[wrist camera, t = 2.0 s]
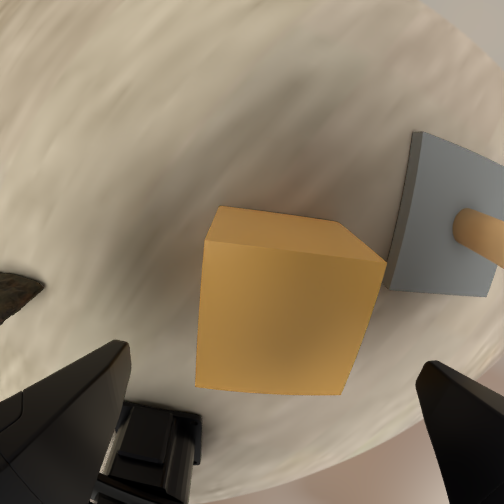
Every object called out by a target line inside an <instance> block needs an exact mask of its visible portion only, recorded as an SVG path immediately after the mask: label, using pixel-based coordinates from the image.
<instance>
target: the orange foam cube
mask: <svg viewBox="0 0 504 504" xmlns="http://www.w3.org/2000/svg"><path fill="white" fill-rule="evenodd" d="M386 265H387V262H386V261H384V260H383V259H382V258H381V257H380V256H379V255H377V254H376V253H375V252H374V251H373V250H372V249H370V248H369V247H368V246H367V245H366V244H364V243H363V242H362V241H361V240H360V239H358V238H357V237H356V236H355V235H354V234H352V233H351V232H350V231H349V230H347V229H346V228H345V227H344V226H342V225H341V224H340V223H339V222H335V221H329V220H322V219H316V218H309V217H302V216H295V215H288V214H281V213H274V212H266V211H259V210H251V209H243V208H235V207H226V206H219V208H218V210H217V212H216V215H215V217H214V219H213V222H212V224H211V226H210V229H209V231H208V233H207V236H206V238H205V241H204V252H203V264H202V276H201V289H200V303H199V319H198V336H197V355H196V378H195V387H199V388H207V389H216V390H225V391H236V392H248V393H262V394H281V395H341V393H342V391H343V388H344V386H345V384H346V381H347V379H348V376H349V374H350V371H351V369H352V367H353V364H354V361H355V359H356V356H357V354H358V351H359V348H360V346H361V343H362V340H363V338H364V335H365V332H366V329H367V326H368V323H369V320H370V317H371V314H372V311H373V308H374V305H375V302H376V299H377V296H378V293H379V289H380V286H381V283H382V279H383V276H384V272H385V269H386Z"/></svg>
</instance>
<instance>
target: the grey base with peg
mask: <svg viewBox="0 0 504 504" xmlns="http://www.w3.org/2000/svg"><path fill="white" fill-rule="evenodd" d="M497 265H498V266H500V267H502V268H503V269H504V166H502V165H500V164H498V163H496V162H494V161H492V160H490V159H487V158H485V157H483V156H481V155H479V154H477V153H475V152H472V151H470V150H468V149H466V148H463V147H461V146H459V145H456V144H454V143H451V142H449V141H446V140H444V139H441V138H439V137H436V136H434V135H431V134H428V133H426V132H413V134H412V142H411V149H410V156H409V162H408V168H407V174H406V180H405V185H404V191H403V196H402V201H401V206H400V210H399V215H398V220H397V224H396V228H395V233H394V237H393V241H392V245H391V249H390V252H389V256H388V260H387V265H386V269H385V272H384V276H383V279H382V283H383V284H384V285H385V286H386V287H387V288H388V290H396V291H408V292H420V293H433V294H446V295H460V296H475V297H487V294H488V291H489V289H490V286H491V283H492V280H493V277H494V274H495V271H496V268H497Z"/></svg>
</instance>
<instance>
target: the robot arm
mask: <svg viewBox="0 0 504 504" xmlns="http://www.w3.org/2000/svg"><path fill="white" fill-rule="evenodd" d="M130 374H131V356H130V347H129V344H128V343H127V342H125V341H120V340H112V341H111V342H109V343H107V344H105V345H104V346H102V347H100V348H98V349H96V350H95V351H93V352H91V353H89V354H87V355H86V356H84V357H82V358H80V359H78V360H77V361H75V362H73V363H71V364H69V365H68V366H66V367H64V368H62V369H60V370H59V371H57V372H55V373H53V374H51V375H50V376H48V377H46V378H44V379H42V380H41V381H39V382H37V383H35V384H33V385H31V386H30V387H28V388H26V389H24V390H23V392H22V391H20V392H19V393H17V394H15V395H13V396H11V397H9V398H7V399H5V400H3V401H1V402H0V504H188V502H189V493H190V485H191V476H192V468H193V465H199V464H200V461H201V439H202V418H201V417H200V416H199V415H195V414H188V413H182V412H175V411H169V410H163V409H158V408H152V407H147V406H142V405H138V404H133V403H128V402H124V397H125V393H126V389H127V385H128V381H129V377H130ZM415 385H416V391H417V394H418V398H419V402H420V406H421V409H422V413H423V417H424V421H425V424H426V428H427V431H428V434H429V437H430V440H431V442H432V445H433V449H434V451H435V455H436V458H437V461H438V464H439V467H440V471H441V474H442V477H443V481H444V485H445V488H446V491H447V495H448V499H449V503H450V504H504V397H503V396H502V395H500V394H498V393H496V392H494V391H492V390H490V389H488V388H487V387H485V386H483V385H481V384H479V383H478V382H476V381H474V380H472V379H470V378H469V377H467V376H465V375H463V374H461V373H459V372H458V371H456V370H454V369H452V368H450V367H448V366H447V365H445V364H443V363H441V362H439V361H436V360H435V361H427V362H426V363H425V364H424V366H423V368H422V370H421V372H420V374H419V376H418V378H417V380H416V384H415ZM114 430H116V433H117V434H116V437H115V440H114V443H113V445H112V448H111V451H110V454H109V457H108V460H107V463H106V466H105V468H104V471H103V474H102V473H100V472H99V471H100V468H101V466H102V463H103V460H104V457H105V454H106V451H107V449H108V446H109V443H110V441H111V438H112V435H113V433H114ZM90 499H92V500H94V501H93V503H92V502H90Z"/></svg>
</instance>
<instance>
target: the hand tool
mask: <svg viewBox="0 0 504 504" xmlns="http://www.w3.org/2000/svg"><path fill="white" fill-rule="evenodd" d="M43 288H44V287H43V286H42V285H41V284H40V283H38V282H37V281H35V280H32V279H28V278H25V277H21V276H19V275H15V274H10V273H7V274H5V273H1V272H0V325H1V324H2V323H3V322H4V321H5V320H6V319H8V318H9V317H10V316H11V315H14V314H15V313H16V312H18V311H19V310H21V308H22V307H24V306H25V305H26V304H27V303H28V302H29V301H30V300H31V299H33V298H34V297H35V296H36V295H37V294H38V293H40V292H41V291H42V290H43Z"/></svg>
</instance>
